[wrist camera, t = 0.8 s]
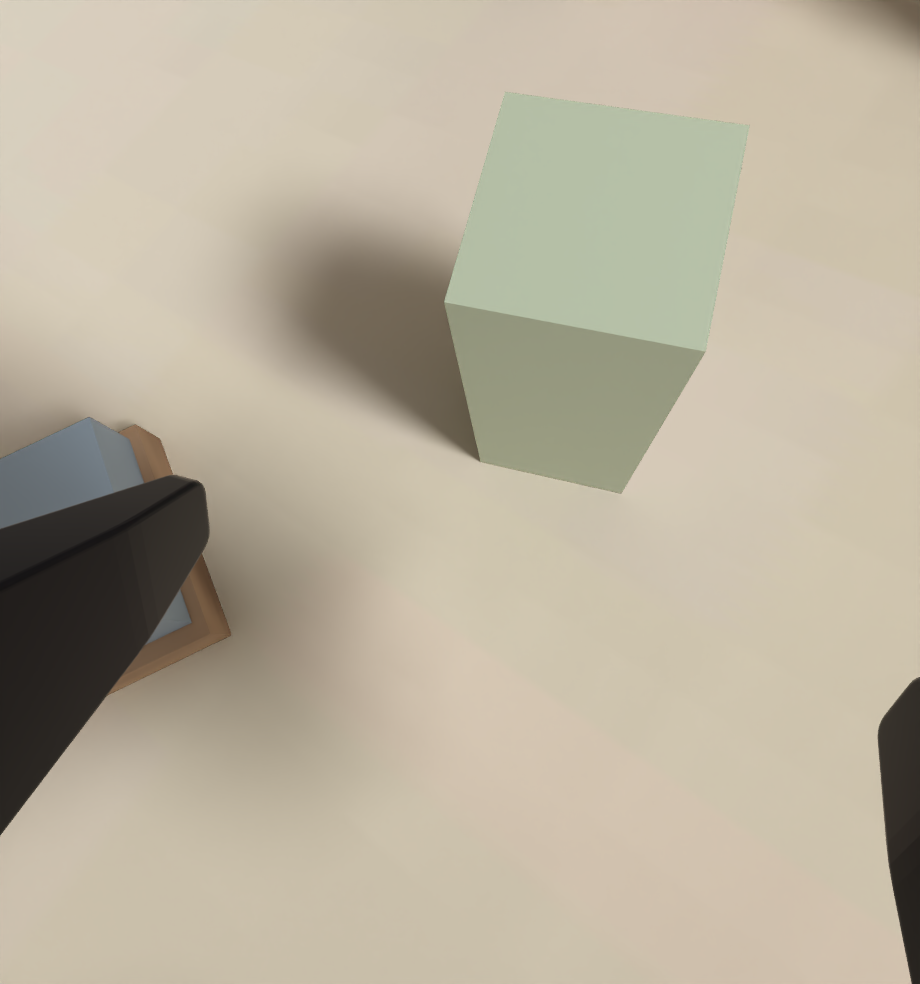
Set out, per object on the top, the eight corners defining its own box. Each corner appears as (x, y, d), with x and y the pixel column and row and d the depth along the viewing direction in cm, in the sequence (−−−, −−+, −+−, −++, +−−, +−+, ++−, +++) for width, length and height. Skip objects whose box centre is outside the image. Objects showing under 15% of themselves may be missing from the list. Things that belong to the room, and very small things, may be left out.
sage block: (621, 493, 23) (705, 351, 12) (480, 461, 24) (443, 301, 13) (649, 362, 24) (749, 125, 13) (513, 335, 25) (505, 91, 14)
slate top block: (191, 622, 21) (154, 618, 19) (-7, 717, 21) (-66, 723, 19) (129, 439, 23) (89, 416, 21) (-53, 525, 23) (-112, 511, 21)
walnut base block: (238, 635, 23) (210, 633, 21) (32, 735, 23) (-17, 743, 21) (167, 443, 25) (135, 424, 23) (-23, 534, 25) (-73, 523, 23)
